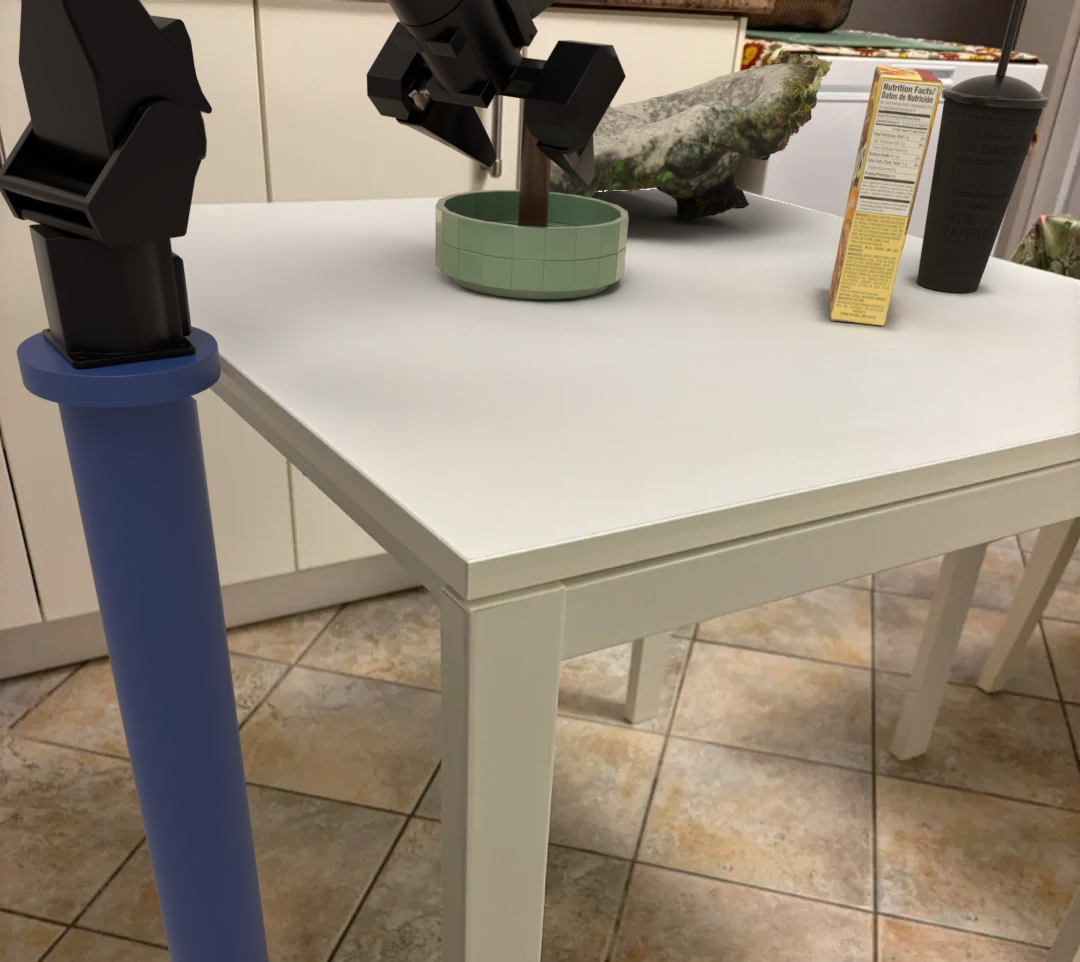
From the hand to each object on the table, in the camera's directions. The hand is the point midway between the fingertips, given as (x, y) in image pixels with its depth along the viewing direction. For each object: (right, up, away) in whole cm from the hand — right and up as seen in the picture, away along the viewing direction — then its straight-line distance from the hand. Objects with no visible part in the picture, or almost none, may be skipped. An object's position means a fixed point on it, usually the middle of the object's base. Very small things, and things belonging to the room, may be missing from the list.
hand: (539, 171), depth 81 cm
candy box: (+24, -10, +2) cm, 26 cm away
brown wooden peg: (-1, -6, +3) cm, 7 cm away
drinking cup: (+33, -5, +9) cm, 35 cm away
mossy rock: (+12, +9, +27) cm, 31 cm away
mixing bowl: (-1, -6, +4) cm, 7 cm away
